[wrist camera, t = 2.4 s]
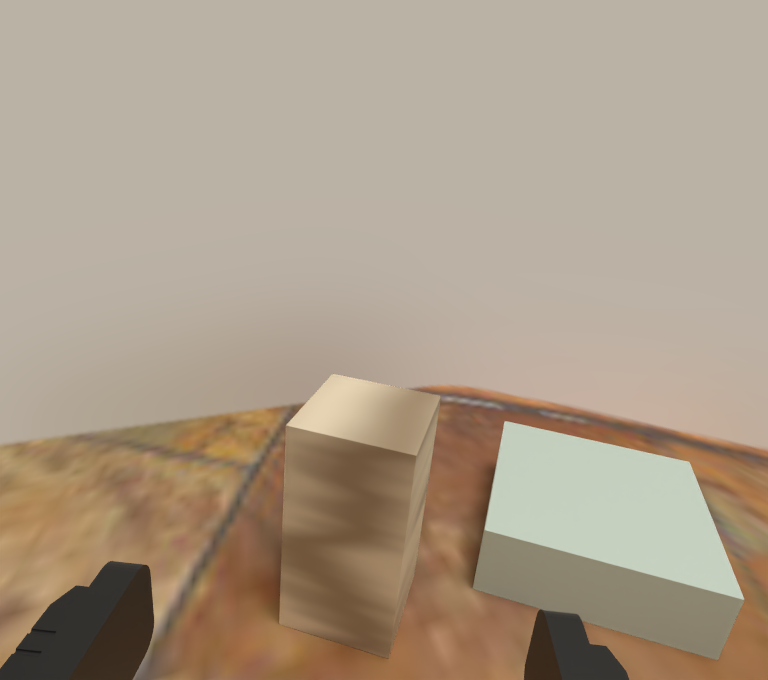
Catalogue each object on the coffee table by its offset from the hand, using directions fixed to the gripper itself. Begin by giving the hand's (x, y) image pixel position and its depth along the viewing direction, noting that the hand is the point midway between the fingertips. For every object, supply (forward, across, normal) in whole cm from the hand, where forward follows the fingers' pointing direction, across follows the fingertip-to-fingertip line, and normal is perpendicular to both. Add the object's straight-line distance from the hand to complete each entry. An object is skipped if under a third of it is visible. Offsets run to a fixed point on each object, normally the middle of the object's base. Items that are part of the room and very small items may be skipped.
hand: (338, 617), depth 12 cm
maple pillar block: (+12, 0, +11) cm, 16 cm away
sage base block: (+17, -12, +12) cm, 24 cm away
